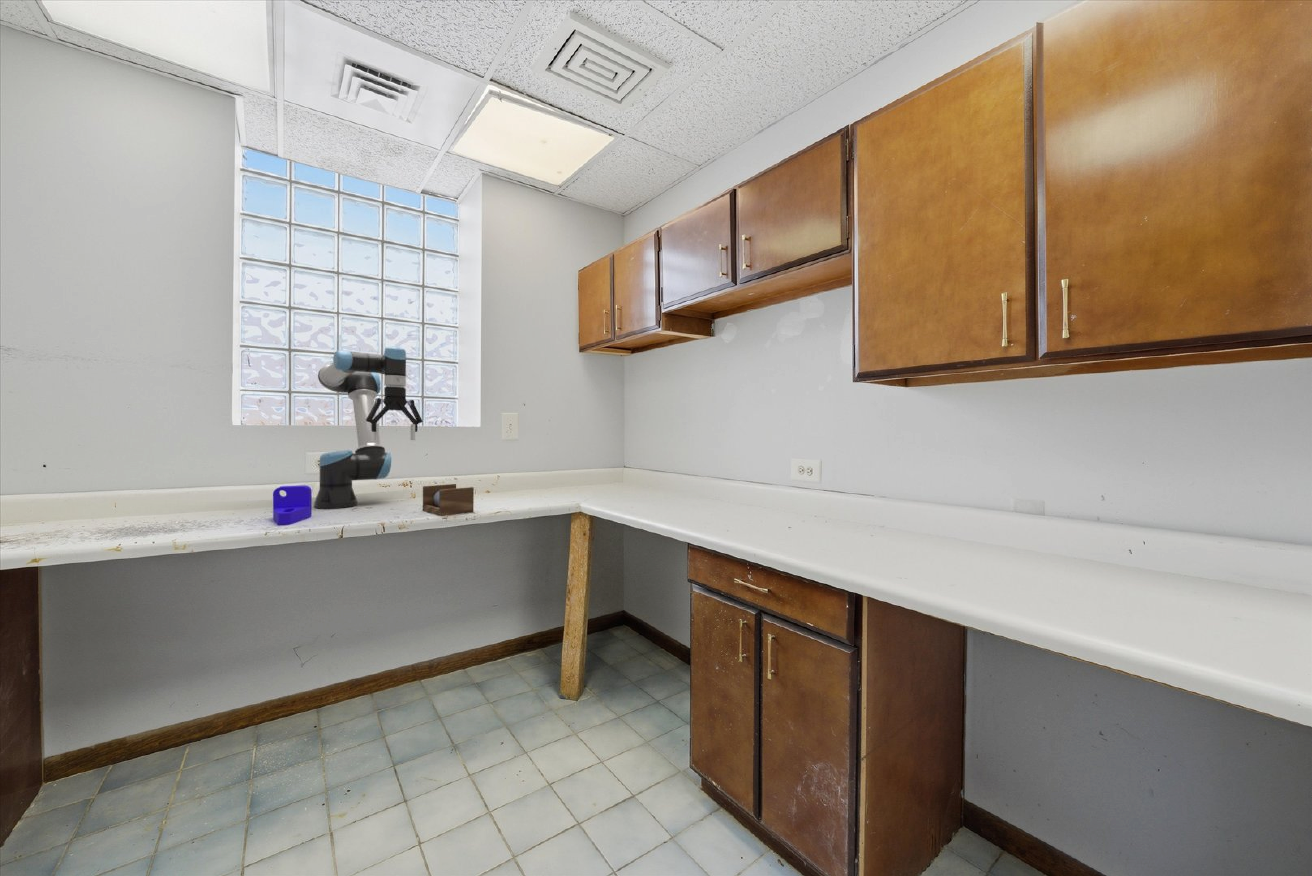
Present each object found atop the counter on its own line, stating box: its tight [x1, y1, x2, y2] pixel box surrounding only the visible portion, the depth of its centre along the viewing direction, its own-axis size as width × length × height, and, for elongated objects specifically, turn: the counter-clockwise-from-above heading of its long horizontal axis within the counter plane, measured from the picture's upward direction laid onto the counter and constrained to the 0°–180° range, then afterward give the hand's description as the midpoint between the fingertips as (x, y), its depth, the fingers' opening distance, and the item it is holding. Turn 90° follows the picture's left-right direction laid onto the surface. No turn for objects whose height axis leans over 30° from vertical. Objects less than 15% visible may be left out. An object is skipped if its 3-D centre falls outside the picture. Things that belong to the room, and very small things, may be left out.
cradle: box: [422, 483, 475, 517], centre depth 200 cm, size 16×13×10 cm
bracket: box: [272, 484, 313, 527], centre depth 176 cm, size 18×11×12 cm, turn 27°
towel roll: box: [433, 491, 439, 507], centre depth 200 cm, size 12×7×7 cm, turn 47°
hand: (395, 440), depth 196 cm, fingers open, 13 cm apart
